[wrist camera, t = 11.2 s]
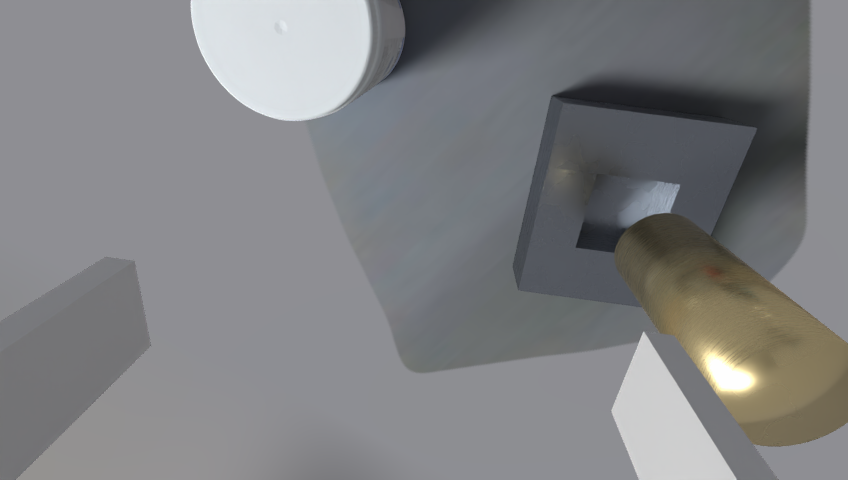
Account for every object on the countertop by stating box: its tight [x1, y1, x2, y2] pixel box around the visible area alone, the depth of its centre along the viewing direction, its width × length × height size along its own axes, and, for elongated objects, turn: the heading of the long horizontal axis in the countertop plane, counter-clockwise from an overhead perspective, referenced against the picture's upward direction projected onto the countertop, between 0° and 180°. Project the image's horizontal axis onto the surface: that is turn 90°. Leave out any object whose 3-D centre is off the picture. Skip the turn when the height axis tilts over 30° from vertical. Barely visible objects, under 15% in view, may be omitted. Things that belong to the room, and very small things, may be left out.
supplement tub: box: [191, 0, 405, 121], centre depth 28 cm, size 10×10×15 cm
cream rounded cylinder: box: [614, 213, 848, 446], centre depth 23 cm, size 6×6×13 cm
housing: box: [513, 96, 757, 307], centre depth 37 cm, size 16×14×4 cm
